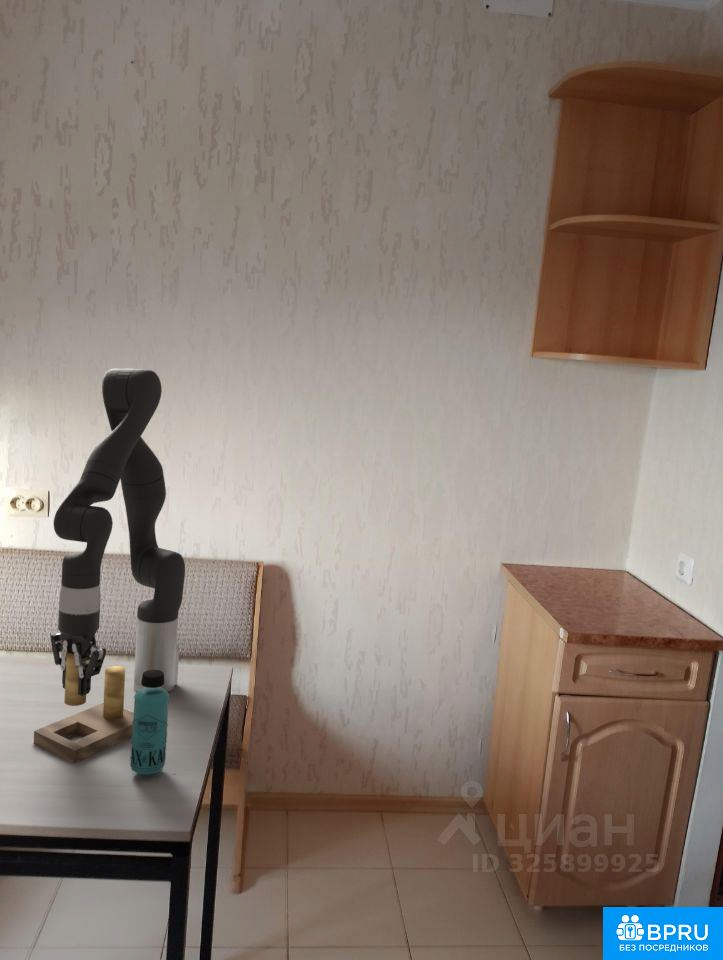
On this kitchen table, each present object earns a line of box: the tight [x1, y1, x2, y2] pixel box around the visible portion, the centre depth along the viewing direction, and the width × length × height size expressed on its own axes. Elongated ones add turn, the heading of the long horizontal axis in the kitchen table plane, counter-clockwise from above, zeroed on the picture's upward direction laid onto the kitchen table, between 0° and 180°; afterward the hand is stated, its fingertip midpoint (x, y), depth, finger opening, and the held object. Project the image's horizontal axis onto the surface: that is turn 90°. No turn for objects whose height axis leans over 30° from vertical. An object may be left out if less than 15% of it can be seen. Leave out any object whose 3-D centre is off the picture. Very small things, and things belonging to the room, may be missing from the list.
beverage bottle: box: [129, 670, 170, 775], centre depth 147 cm, size 6×7×20 cm
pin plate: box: [33, 665, 134, 764], centre depth 159 cm, size 18×12×12 cm, turn 149°
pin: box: [63, 652, 88, 707], centre depth 155 cm, size 4×4×10 cm
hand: (75, 690), depth 155 cm, fingers closed on pin, 4 cm apart
